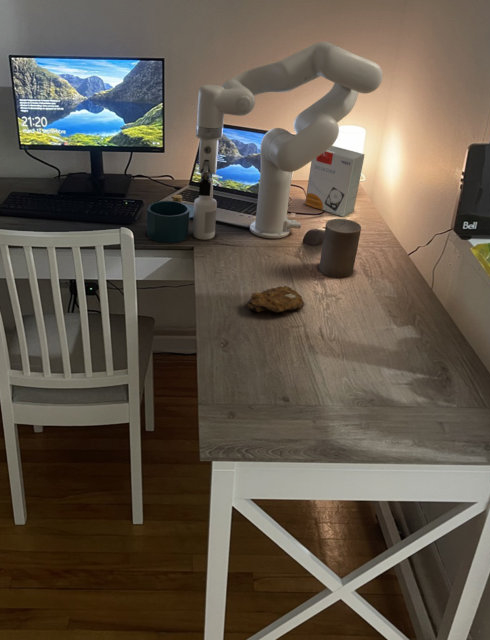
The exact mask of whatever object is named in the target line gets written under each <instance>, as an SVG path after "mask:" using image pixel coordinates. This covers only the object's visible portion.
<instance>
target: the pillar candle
mask: <svg viewBox="0 0 490 640" xmlns="http://www.w3.org/2000/svg"><path fill="white" fill-rule="evenodd" d="M324 228H325V229H324V234H323V239H322V246H321V252H320V258H319V264H318V269H319V271H320V272H321V273H322V274H323V275H325V276H328V277H331V278H349V277H351V276H352V275H353V274H354V267H355V263H356V258H357V253H358V249H359V242H360V237H361V232H362V226H361V224H360V223H358V222H357V221H354V220H351V219H347V218H331V219H328V220H327V221H326V222H325V227H324Z"/></svg>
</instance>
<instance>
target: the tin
mask: <svg viewBox="0 0 490 640" xmlns="http://www.w3.org/2000/svg"><path fill="white" fill-rule="evenodd" d="M186 204H187V203H183V202H182V203H181V202H176V201H173V200H159V201H154V202H152V203H150V204H149V205H147V208H146V210H147V211H146V213H147V215H146V216H147V217H146V234H147V237H148V238H149V239H150V240H152V241H154V242H158V243H164V244H174V243H180V242H183V241H185V240H186V239H188V237H189V233H190V232H189V231H190V219H189V213H190V208H189V207H188V206H187V205H188V204H187V205H186Z"/></svg>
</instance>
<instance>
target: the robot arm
mask: <svg viewBox="0 0 490 640" xmlns="http://www.w3.org/2000/svg"><path fill="white" fill-rule="evenodd" d="M383 75H384V73H383V70H382V68H381V65H380V64H378V63H377V62H375V61H373V60H371V59H368V58H366V57H364V56H361V55H358V54H356V53H353V52H351V51H349V50H346V49H344V48H342V47H340V46H338V45H335V44H333V43H331V42H328V41H319V42H316V43H314V44H311V45H309V46H308V47H306V48H303V49H301V50H299V51H297V52H295V53H293V54H291V55H289V56H288V57H285V58H283V59H281V60H277V61H276V62H272V63H268V64H264V65H261V66H258V67H253V68H251V69H248V70H245V71H243V72H241V73H239V74H237V75H235V76H233V77H231V78H230V79H228V80H226V81H225V82H223V84H222V85H217V84H203V85H201V86H200V87H199V89H198V93H197V110H196V111H197V112H196V128H195V129H196V130H195V137H196V138H197V139H198V140H199V145H198V146H199V147H198V149H199V150H198V153H199V154H198V173H199V174H200V181H199V186H198V196H199V195H202V196H210V188H211V182H210V178H212V179H213V176H214V175H216V174H217V169H218V168H217V167H218V155H219V154H218V153H219V141H220V140H222V139H223V133H224V132H223V131H224V120H225V115H231V116H236V117H241V116H242V117H243V116H247V115H249V114H250V113H251V112H253V109H255V105H256V98H255V96H257V95H260V94H266V93H287V92H288V93H289V92H292V91H293V90H295V89H298V88H299V87H301V86H303V85H305V84H307V83H309V82H311V81H314V80H316V79H318V78H320V77H321V78H324V79H325V80H327V81H330V82H332V83H333V86H332V87H331V88H330V90H329V91H328V92H327V93H326V94H325V95H324V96H322V97H321V98H319V99H318V100H316V101H315V102H314V103H312V104H310V106H308V107H306V108H305V109H304V110H303V111H301V112H299V113H298V114H297V116H295V119H294V121H293V130H294V132H295V134H293V133H291V132H290V131H288V130H287V129H285V128H281V127H275V128H271V129H269V130H268V131H267V132H266V133H265V134H264V135H263V137H262V139H261V142H260V148H259V149H260V153H259V154H260V170H259V171H260V172H259V183H258V190H257V192H258V193H257V201H256V211H255V212H256V213H255V220H254V221H253V222H251V223H250V224H249V231H250V232H251V233H252V234H253V235H255V236H257V237H260V238H263V239H281V238H285V237H287V236H289V235H290V233H291V229H295V230H296V229H297V230H301V228H302V222H298V221H297V219H290V218H288V209H289V201H290V194H291V187H292V179H293V172H296V171H299V170H300V169H302V168H304V167H305V166H306V165H308V164H310V163H311V161H312V160H314V159H315V158H317V157H318V156H319V155H321V154H322V153H324V152H325V151H326V150H328V149H329V148H330V147H331V146H334V144H335V142H336V141H337V139H338V137H339V132H340V127H339V122H340V121H341V120H343V119H344V118H345V117H347V116H348V115H349V114H350V113H351V112H352V110H353V108H354V107H355V106H356V103H357V100H358V97H359V93H360V94H371V93H373V92H375V91H376V90H378V88H379V87H380V85H381V84H382V81H383V77H384V76H383Z"/></svg>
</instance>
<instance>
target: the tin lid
mask: <svg viewBox="0 0 490 640" xmlns="http://www.w3.org/2000/svg"><path fill="white" fill-rule="evenodd" d="M172 201H176V202H181V203H183V195H181V194H173V195H172ZM185 204H186V205H187V206H188V207H189V208H190V213H189V220H191V219H193V217H194V205H190V204H187V203H185Z"/></svg>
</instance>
